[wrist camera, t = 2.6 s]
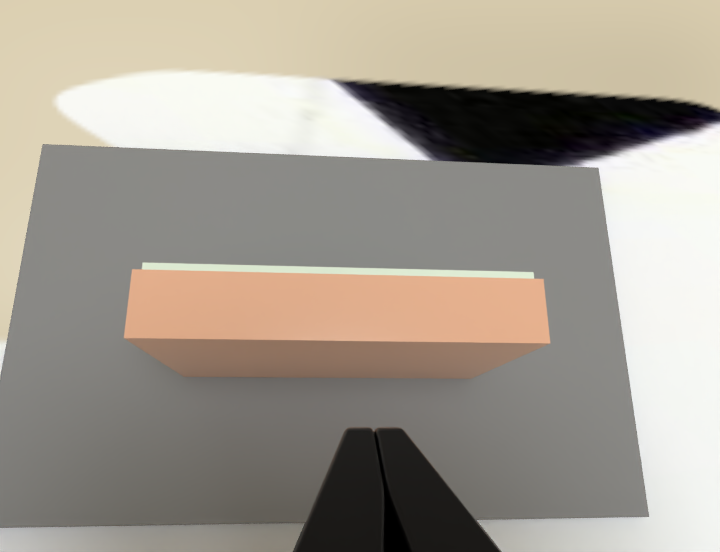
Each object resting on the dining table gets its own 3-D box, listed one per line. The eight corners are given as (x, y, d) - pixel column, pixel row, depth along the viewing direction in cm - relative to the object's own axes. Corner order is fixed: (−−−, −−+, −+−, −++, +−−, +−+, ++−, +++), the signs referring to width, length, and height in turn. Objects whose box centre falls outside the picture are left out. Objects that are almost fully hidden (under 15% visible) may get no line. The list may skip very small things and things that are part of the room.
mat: (642, 515, 22) (649, 516, 21) (-21, 526, 20) (-28, 528, 19) (594, 172, 26) (598, 167, 26) (46, 149, 24) (42, 144, 24)
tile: (471, 378, 22) (550, 343, 15) (183, 376, 21) (123, 337, 14) (468, 327, 23) (542, 270, 16) (188, 323, 22) (133, 260, 15)
